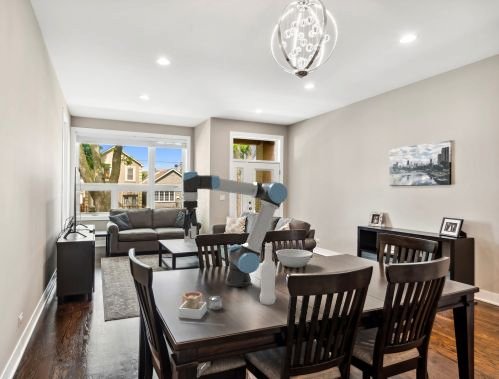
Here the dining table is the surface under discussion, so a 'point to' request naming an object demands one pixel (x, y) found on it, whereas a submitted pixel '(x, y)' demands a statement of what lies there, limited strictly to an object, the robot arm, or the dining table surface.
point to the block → (192, 302)
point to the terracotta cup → (186, 295)
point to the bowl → (294, 257)
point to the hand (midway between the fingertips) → (190, 240)
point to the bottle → (268, 277)
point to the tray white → (193, 311)
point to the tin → (215, 302)
